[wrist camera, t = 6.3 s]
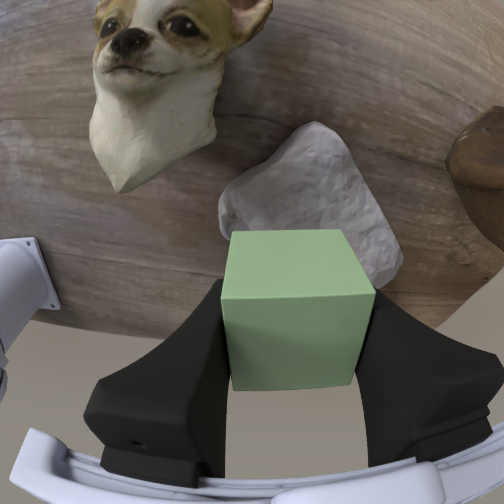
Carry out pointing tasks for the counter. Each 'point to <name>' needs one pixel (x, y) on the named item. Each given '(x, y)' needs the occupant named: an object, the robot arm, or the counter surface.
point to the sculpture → (481, 172)
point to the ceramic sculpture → (161, 79)
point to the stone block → (313, 199)
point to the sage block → (294, 309)
